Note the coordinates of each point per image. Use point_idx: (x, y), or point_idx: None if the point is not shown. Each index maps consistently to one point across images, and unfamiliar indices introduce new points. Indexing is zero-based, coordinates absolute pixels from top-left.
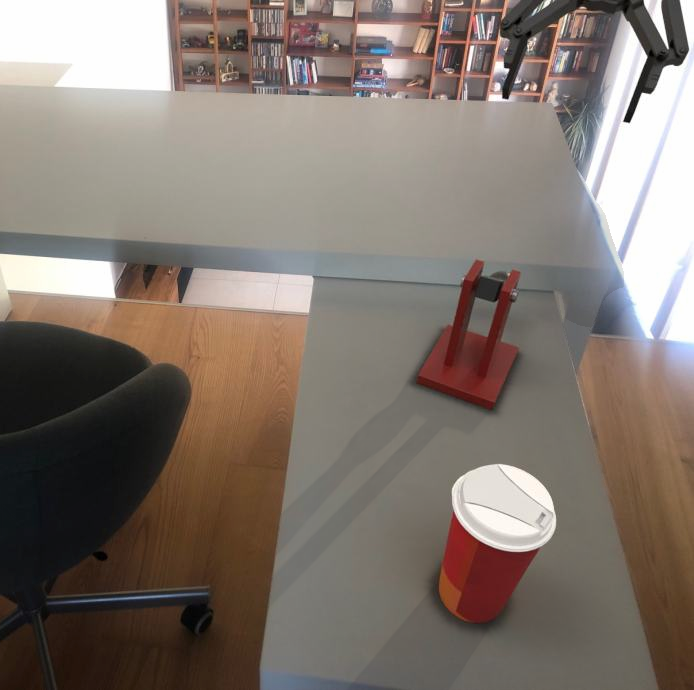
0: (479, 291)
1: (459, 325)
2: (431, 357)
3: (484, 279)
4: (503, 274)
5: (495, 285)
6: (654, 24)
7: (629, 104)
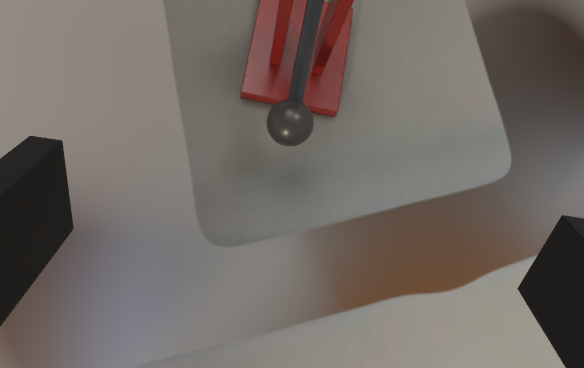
0: None
1: None
2: (344, 41)
3: None
4: (294, 111)
5: None
6: None
7: (38, 219)
